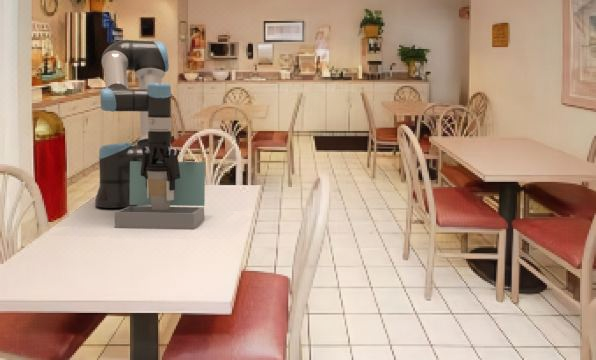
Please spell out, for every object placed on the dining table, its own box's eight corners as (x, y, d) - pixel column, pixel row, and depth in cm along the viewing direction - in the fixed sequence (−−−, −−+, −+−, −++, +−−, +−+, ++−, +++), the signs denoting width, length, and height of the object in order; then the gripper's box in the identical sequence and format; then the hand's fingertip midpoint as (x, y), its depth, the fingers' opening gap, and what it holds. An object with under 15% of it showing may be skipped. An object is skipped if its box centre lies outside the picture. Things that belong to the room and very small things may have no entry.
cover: (128, 204, 213) (130, 204, 215) (203, 206, 211) (204, 205, 213) (128, 158, 213) (130, 158, 215) (203, 159, 211) (204, 159, 213)
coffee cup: (167, 211, 202) (167, 165, 200) (141, 210, 203) (140, 164, 202) (179, 206, 211) (178, 163, 209) (153, 205, 213) (152, 162, 211)
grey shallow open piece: (130, 220, 215) (130, 206, 215) (204, 221, 213) (204, 207, 213) (114, 227, 200) (114, 212, 200) (194, 229, 198) (194, 213, 198)
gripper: (128, 129, 206) (129, 197, 209) (176, 132, 196) (176, 203, 198) (144, 129, 212) (145, 194, 215) (191, 131, 202) (191, 200, 205)
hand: (160, 198), depth 207 cm, fingers closed on coffee cup, 8 cm apart
